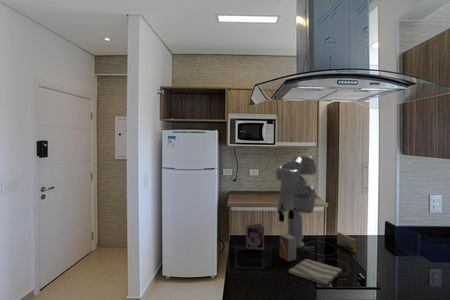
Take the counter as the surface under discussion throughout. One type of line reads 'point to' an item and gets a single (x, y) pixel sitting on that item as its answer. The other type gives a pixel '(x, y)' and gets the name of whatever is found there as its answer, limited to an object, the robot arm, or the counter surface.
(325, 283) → the birch board
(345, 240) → the candy box
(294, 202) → the robot arm
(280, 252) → the small box
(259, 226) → the greeting card
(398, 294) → the counter surface
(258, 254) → the counter surface
